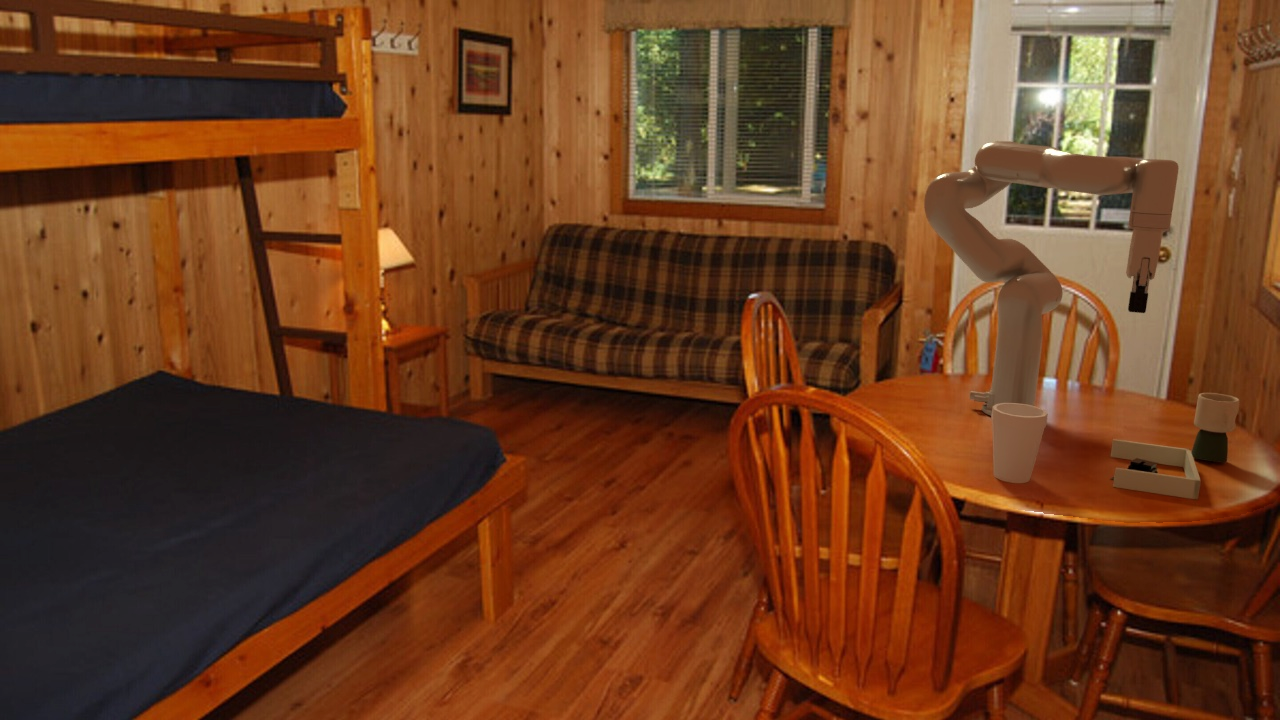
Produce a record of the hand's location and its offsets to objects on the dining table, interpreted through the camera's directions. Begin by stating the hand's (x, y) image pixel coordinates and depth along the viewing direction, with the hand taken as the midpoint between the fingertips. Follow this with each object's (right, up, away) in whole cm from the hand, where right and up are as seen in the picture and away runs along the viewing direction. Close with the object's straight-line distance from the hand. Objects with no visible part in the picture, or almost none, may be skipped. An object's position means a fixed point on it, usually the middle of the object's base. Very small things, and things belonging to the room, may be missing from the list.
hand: (1136, 311), depth 204 cm
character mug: (+11, -30, -7) cm, 33 cm away
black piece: (-10, -33, -20) cm, 40 cm away
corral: (-6, -32, -17) cm, 37 cm away
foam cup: (-33, -32, -19) cm, 50 cm away
